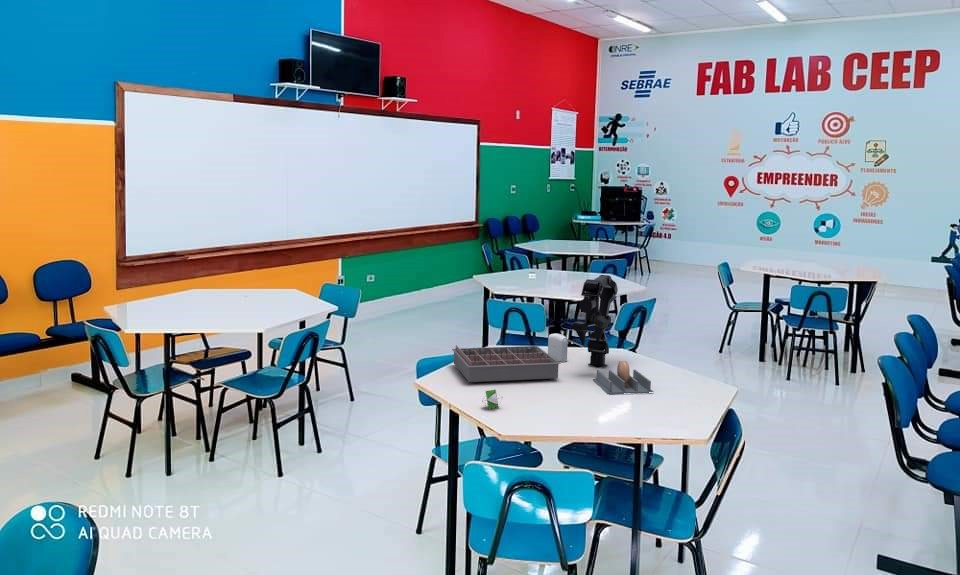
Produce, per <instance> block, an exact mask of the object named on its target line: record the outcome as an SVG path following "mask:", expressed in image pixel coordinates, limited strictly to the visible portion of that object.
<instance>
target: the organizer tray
mask: <svg viewBox="0 0 960 575" xmlns="http://www.w3.org/2000/svg"><path fill="white" fill-rule="evenodd" d="M451 351H453V365H454V366H455V367H456V369H457V370H458V371H459V372H460V373H461V375H463V377H464V378H465V379H466V381H468V383H476V382H477V383H478V382H479V383H480V382H499V381H501V382H502V381H505V382H506V381H525V380H545V379H546V380H547V379H559V365H561V363H562V362H560V361H557V360H555V359H554V358H553V357H551V356H550V355H549V354H548V352H546V351H544V350H543V349H542V348H541V347H539V346H538V345H522V346H521V345H520V346H517V345H516V346H495V347H494V346H492V347H490V346H489V347H488V346H487V347H464V348H463V347H459V346H458V345H457V344H456V345H455V348H451Z"/></svg>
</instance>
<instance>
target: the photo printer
mask: <svg viewBox="0 0 960 575" xmlns="http://www.w3.org/2000/svg"><path fill="white" fill-rule="evenodd" d="M547 339H548V340H547V341H548V342H547V354H549V355H550V356H551V357H553V358H554V359H555V360H557V361H558V362H560V363H565V362H567V361H568V342H569V341H568V338H567V337H566V335H563V334H560V333H551V334H550V333H549V336H548V338H547Z"/></svg>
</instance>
